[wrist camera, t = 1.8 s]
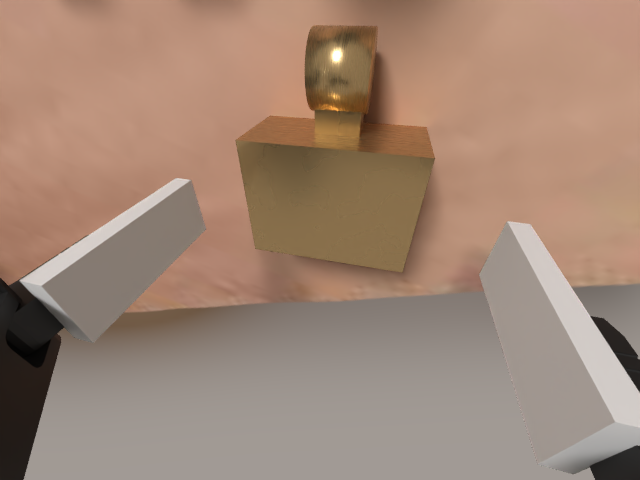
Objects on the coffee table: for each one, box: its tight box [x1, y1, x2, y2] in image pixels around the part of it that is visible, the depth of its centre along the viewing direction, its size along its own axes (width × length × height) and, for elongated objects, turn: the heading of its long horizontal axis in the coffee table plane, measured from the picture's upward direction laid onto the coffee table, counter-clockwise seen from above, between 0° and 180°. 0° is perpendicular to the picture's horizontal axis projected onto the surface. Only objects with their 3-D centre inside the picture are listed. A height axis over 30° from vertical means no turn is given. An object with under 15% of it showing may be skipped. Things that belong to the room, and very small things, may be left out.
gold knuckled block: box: [236, 25, 435, 272], centre depth 13 cm, size 10×8×4 cm
